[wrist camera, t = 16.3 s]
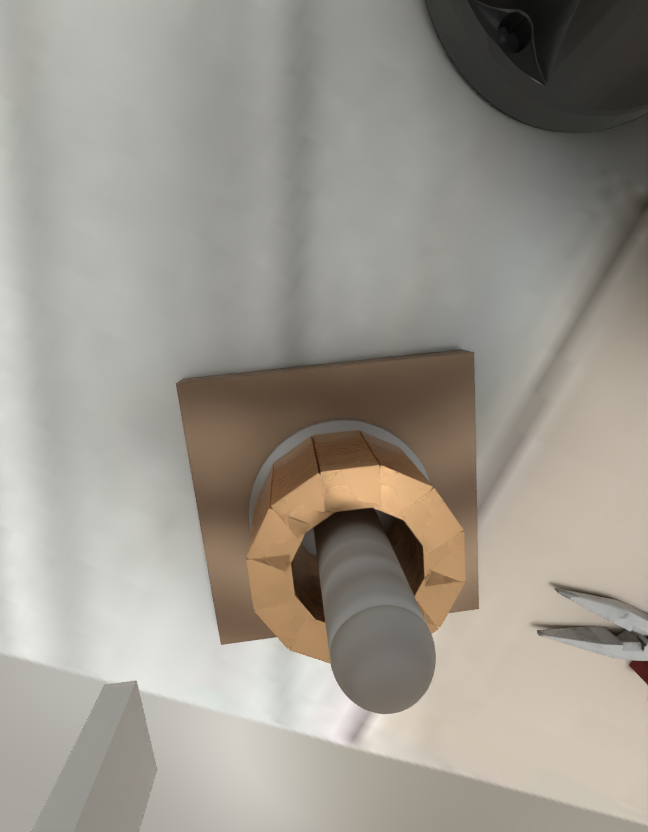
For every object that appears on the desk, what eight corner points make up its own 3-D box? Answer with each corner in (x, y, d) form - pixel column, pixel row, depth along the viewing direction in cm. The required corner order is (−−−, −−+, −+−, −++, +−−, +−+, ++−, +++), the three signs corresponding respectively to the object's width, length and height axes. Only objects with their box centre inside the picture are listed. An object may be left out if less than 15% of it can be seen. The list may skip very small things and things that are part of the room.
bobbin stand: (183, 379, 22) (46, 466, 9) (461, 349, 23) (677, 394, 10) (224, 625, 25) (163, 937, 13) (468, 592, 26) (638, 853, 14)
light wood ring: (246, 442, 21) (234, 482, 16) (421, 422, 21) (462, 454, 16) (268, 599, 23) (263, 677, 18) (429, 577, 23) (467, 647, 18)
